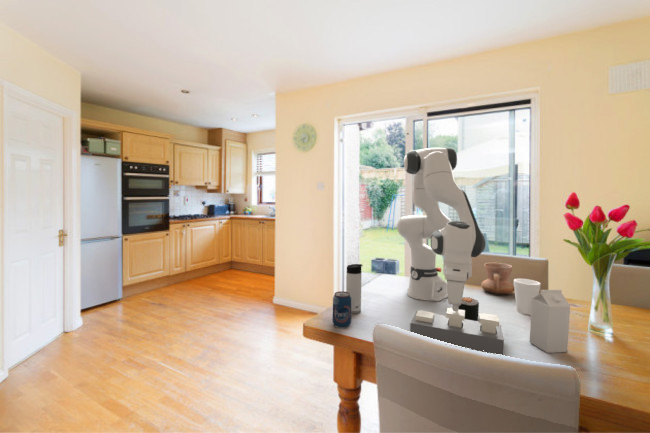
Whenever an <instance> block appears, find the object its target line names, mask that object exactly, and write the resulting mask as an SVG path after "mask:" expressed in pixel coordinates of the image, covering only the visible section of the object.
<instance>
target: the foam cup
mask: <svg viewBox="0 0 650 433" xmlns="http://www.w3.org/2000/svg"><path fill="white" fill-rule="evenodd" d="M513 286H514V297H515V309H516V312H518V313H519V314H523V315H529V316H531V308H532V298H534V297H535V296H537V295H539V294H540V291H541V282H539V281H537V280H534V279H528V278H514V279H513Z"/></svg>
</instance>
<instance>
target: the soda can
mask: <svg viewBox="0 0 650 433" xmlns="http://www.w3.org/2000/svg"><path fill="white" fill-rule="evenodd" d="M351 323H352V314H351V297H350V293H348V292H346V291H342V290H341V291H336V292H334V295H333V297H332V324H333V325H334V327H336V328H339V329H345V328H346V329H347V328H348V327H349V326H350V325H351Z"/></svg>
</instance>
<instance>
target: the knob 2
mask: <svg viewBox="0 0 650 433" xmlns="http://www.w3.org/2000/svg"><path fill="white" fill-rule="evenodd" d="M478 321H479V323H480V324H481V331H482V332H487V333H493V334H496V326H498V327H499V325H500V317H499V315H496V314H492V313H485V312H484V313H483V312H478Z"/></svg>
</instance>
